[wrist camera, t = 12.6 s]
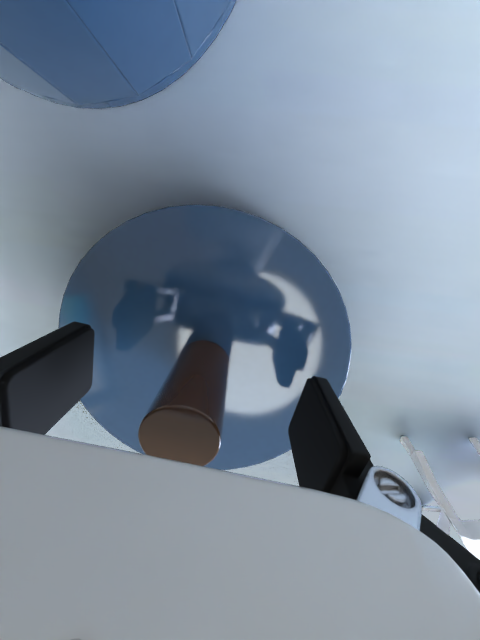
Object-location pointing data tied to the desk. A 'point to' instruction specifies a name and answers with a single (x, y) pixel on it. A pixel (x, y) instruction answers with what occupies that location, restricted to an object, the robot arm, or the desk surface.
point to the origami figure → (446, 501)
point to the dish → (104, 46)
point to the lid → (205, 333)
